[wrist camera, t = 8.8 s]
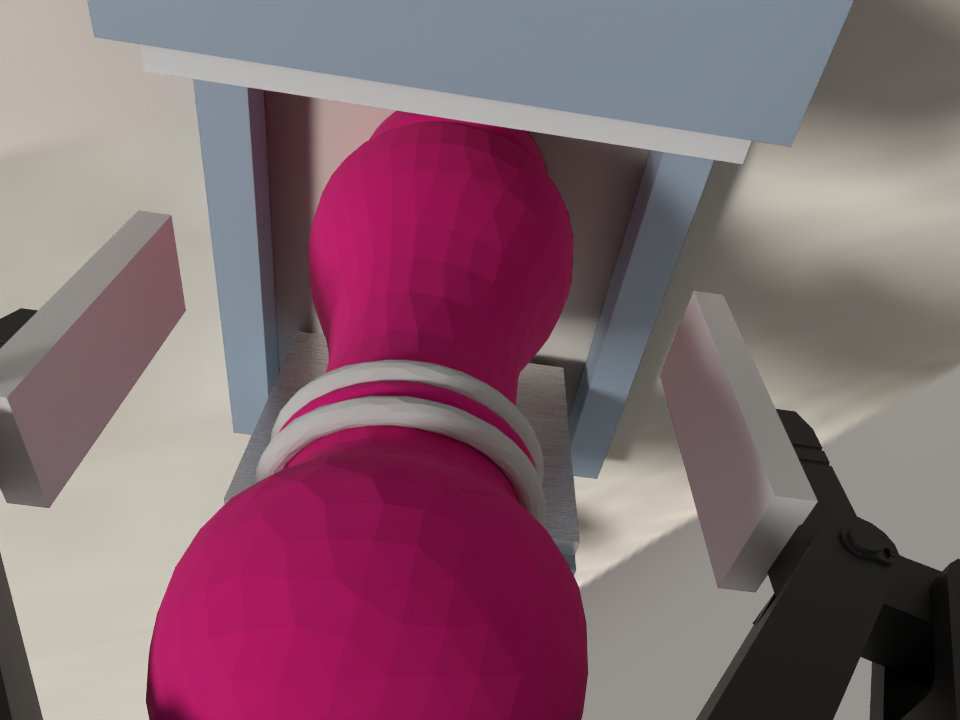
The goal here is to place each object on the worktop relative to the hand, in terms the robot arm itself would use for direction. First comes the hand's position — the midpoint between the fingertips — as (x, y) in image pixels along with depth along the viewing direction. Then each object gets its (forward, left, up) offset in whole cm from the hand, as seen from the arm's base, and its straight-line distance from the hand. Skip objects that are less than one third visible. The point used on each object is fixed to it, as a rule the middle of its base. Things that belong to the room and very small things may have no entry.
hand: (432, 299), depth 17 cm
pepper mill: (0, 0, -7) cm, 7 cm away
